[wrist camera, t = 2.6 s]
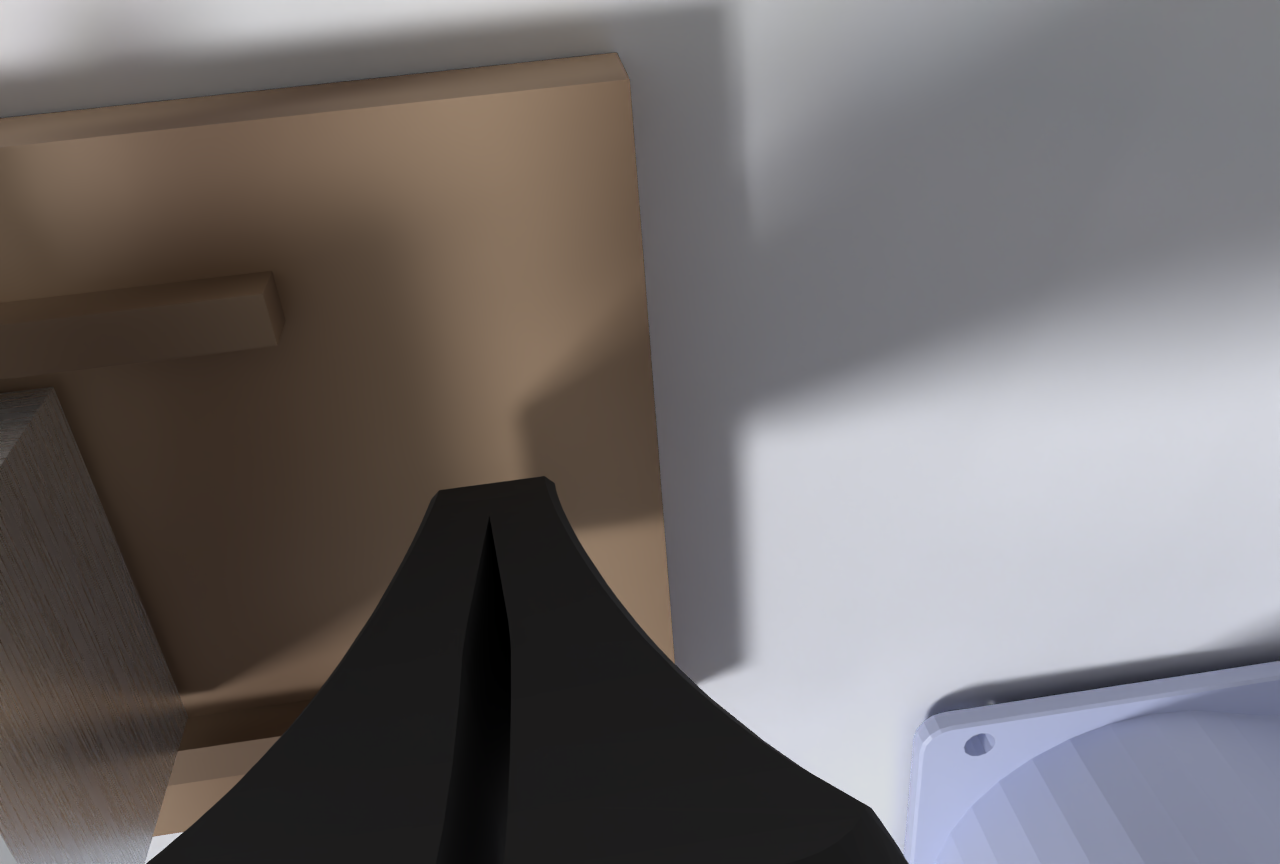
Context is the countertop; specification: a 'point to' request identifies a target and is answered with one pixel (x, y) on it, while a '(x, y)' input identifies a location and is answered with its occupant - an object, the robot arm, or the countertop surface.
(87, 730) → the brushed steel box
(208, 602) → the rail board
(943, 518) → the countertop surface
